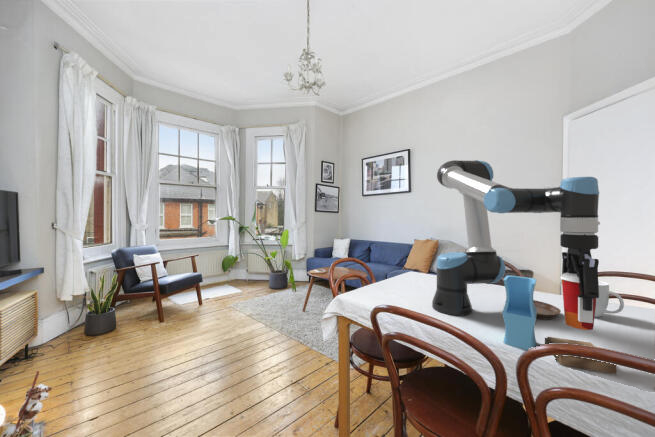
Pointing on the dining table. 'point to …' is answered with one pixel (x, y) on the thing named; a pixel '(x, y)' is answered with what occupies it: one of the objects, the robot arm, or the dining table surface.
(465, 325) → the dining table surface
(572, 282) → the paper cup
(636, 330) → the dining table surface
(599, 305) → the mug
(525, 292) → the vase
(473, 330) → the dining table surface
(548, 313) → the plant saucer
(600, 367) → the base
